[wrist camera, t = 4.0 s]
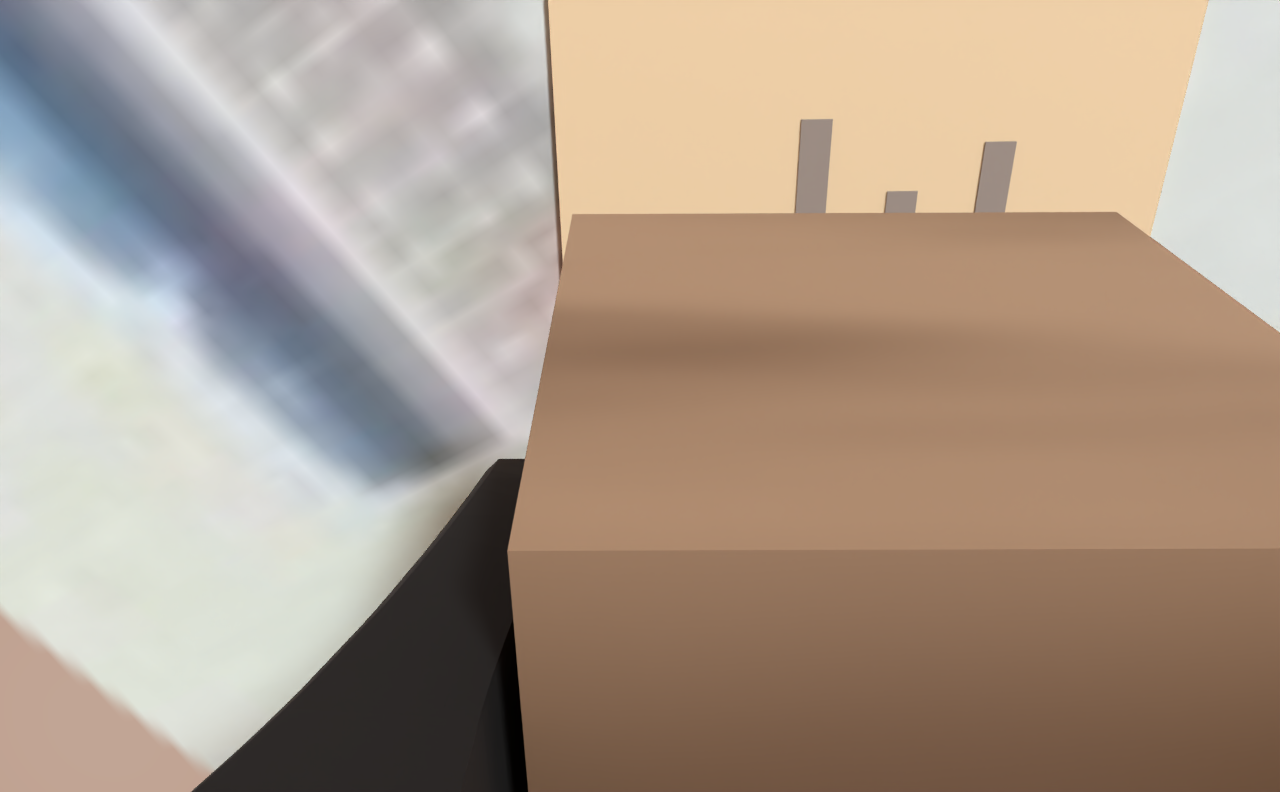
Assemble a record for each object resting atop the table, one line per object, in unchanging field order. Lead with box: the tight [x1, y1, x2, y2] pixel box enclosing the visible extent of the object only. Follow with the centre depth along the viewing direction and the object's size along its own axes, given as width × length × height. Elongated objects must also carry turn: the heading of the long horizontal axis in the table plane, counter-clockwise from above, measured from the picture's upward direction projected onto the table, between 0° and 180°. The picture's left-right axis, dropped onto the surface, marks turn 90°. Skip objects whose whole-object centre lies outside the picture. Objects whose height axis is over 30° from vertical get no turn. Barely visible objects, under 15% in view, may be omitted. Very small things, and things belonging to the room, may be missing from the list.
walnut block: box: [507, 212, 1280, 792], centre depth 8 cm, size 5×5×5 cm
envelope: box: [548, 0, 1209, 260], centre depth 16 cm, size 14×10×1 cm
